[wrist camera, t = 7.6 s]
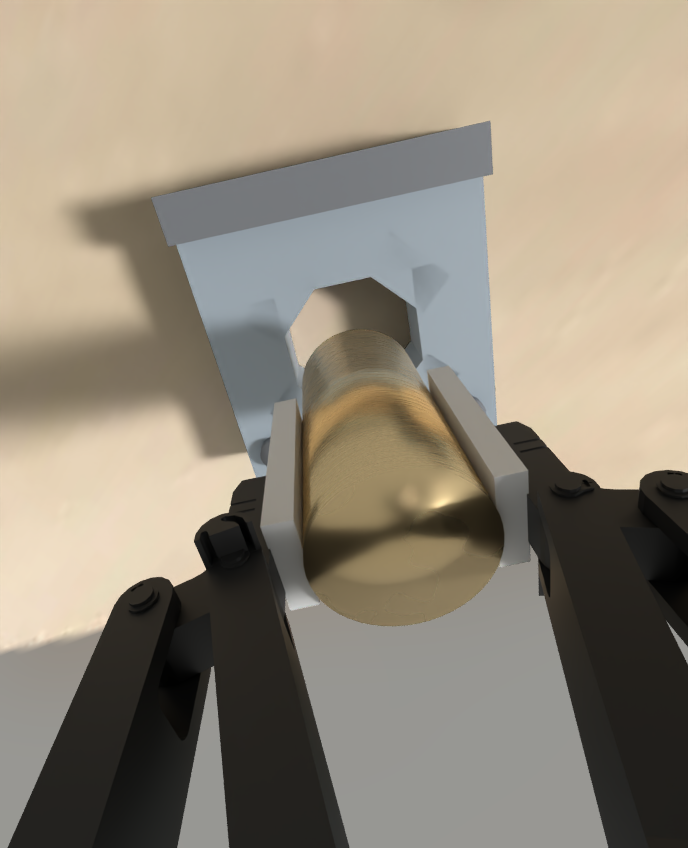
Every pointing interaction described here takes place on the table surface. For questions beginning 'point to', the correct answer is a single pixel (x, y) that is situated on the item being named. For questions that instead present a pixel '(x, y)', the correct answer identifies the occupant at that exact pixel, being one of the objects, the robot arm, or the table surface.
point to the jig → (340, 262)
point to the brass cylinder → (388, 490)
